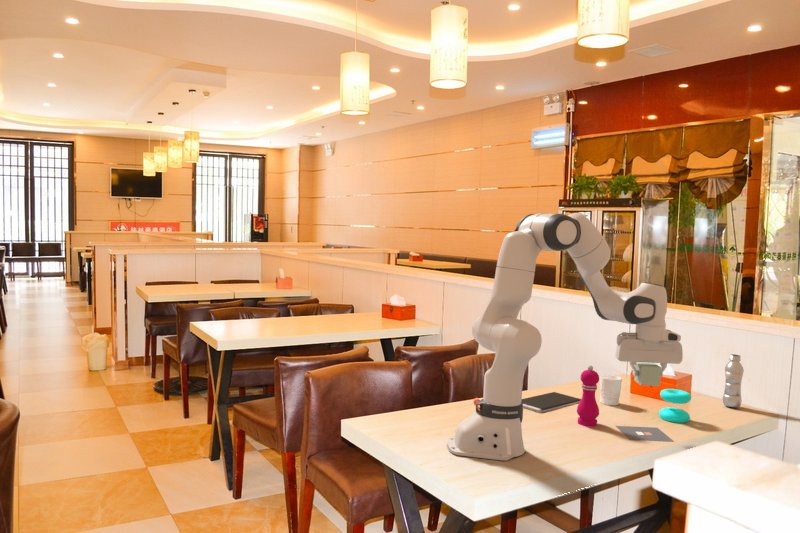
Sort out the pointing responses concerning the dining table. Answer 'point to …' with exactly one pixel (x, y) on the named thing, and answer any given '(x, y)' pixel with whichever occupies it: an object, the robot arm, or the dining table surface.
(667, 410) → the donuts
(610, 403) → the white cup
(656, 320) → the robot arm
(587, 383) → the pepper mill
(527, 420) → the dining table surface
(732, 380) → the plastic bottle
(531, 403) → the dark grey flat slab
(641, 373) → the sage block
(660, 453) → the dining table surface
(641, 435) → the mat
